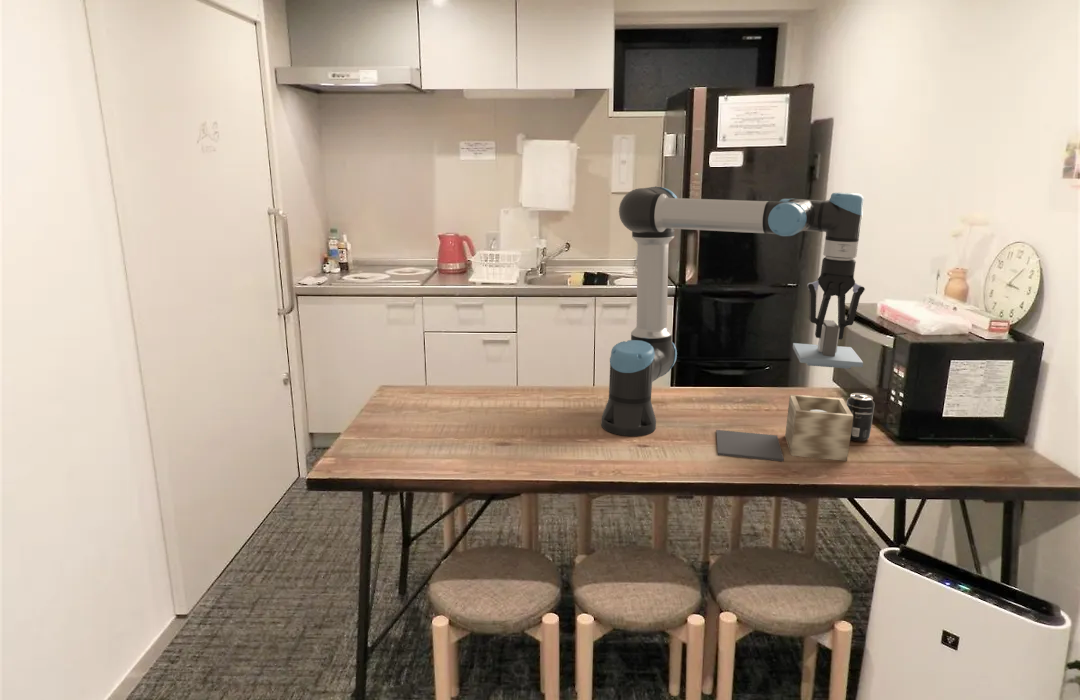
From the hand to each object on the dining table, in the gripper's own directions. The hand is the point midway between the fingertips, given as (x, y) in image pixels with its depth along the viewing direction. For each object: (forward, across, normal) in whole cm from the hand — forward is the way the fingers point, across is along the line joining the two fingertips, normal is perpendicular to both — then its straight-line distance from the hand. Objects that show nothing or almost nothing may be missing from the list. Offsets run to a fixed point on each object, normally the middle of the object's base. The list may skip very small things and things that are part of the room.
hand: (826, 350), depth 180 cm
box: (+26, 0, 0) cm, 26 cm away
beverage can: (+27, +12, +10) cm, 31 cm away
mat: (+27, -17, -3) cm, 32 cm away
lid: (+3, 0, 0) cm, 3 cm away
